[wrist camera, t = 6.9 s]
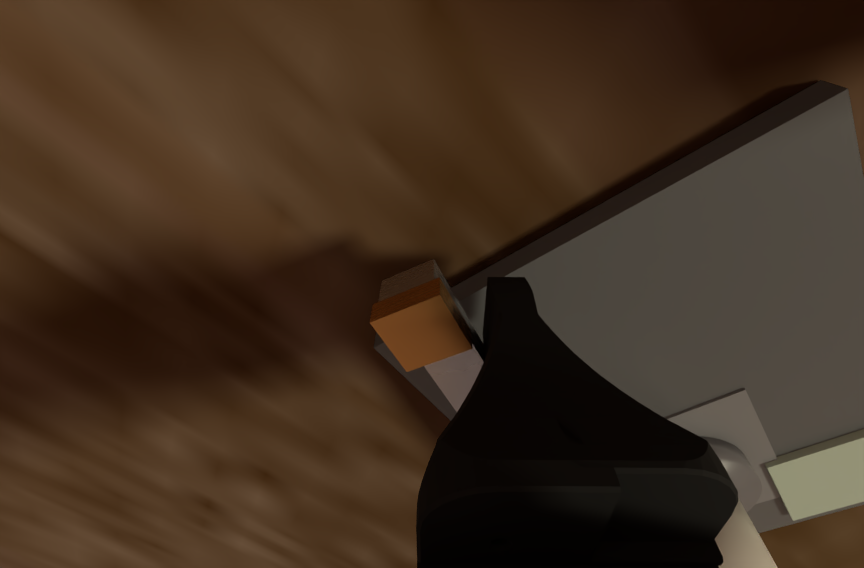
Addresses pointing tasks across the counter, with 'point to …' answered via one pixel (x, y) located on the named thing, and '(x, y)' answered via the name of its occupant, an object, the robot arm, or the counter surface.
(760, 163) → the board
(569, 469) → the robot arm
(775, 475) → the pad
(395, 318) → the rod with orange cap
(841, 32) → the counter surface
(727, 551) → the beige mushroom
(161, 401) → the counter surface
